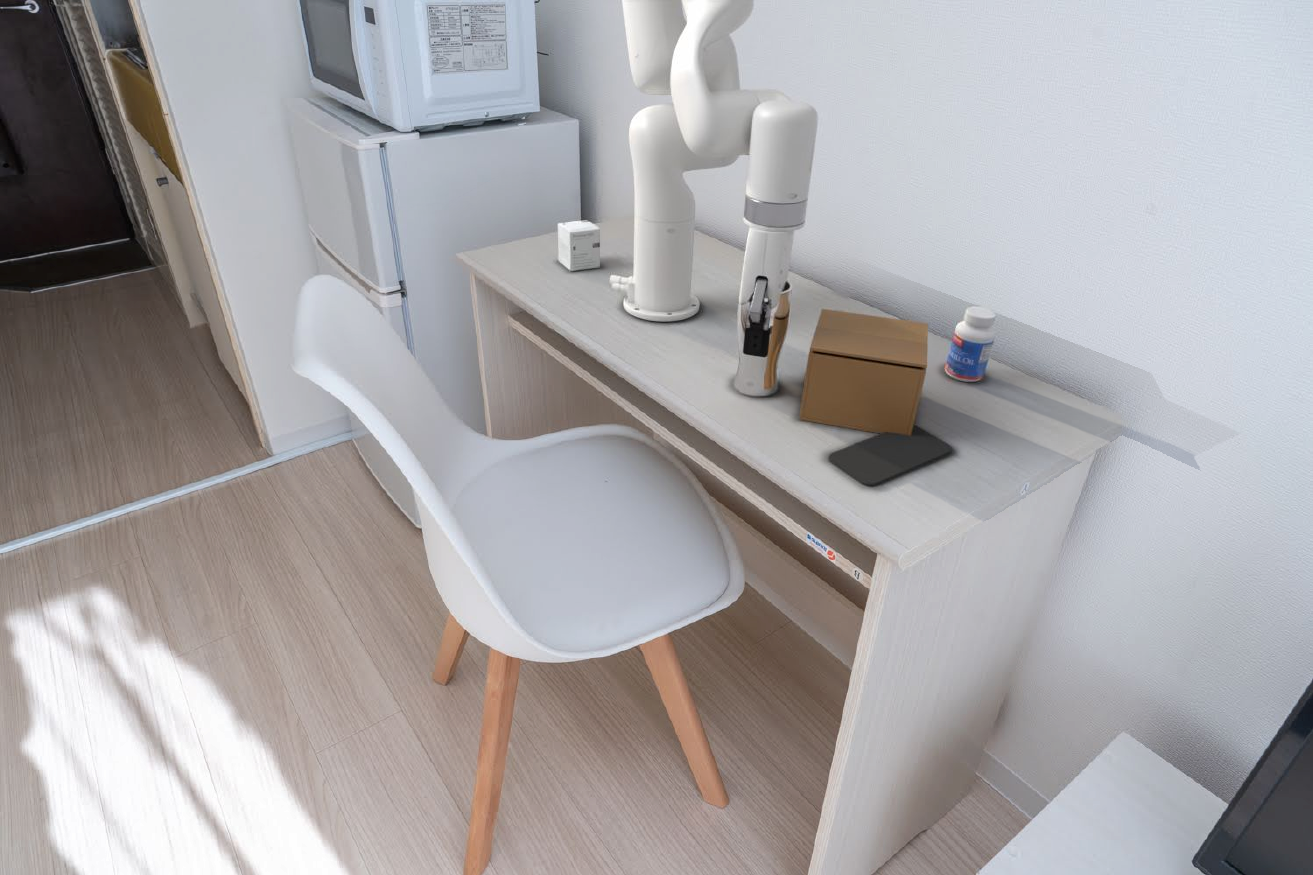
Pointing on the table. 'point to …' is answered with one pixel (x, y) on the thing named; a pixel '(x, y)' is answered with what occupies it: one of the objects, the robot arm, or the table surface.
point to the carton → (863, 381)
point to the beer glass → (761, 372)
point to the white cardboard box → (579, 245)
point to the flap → (873, 325)
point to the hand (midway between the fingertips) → (760, 342)
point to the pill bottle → (971, 345)
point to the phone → (889, 456)
